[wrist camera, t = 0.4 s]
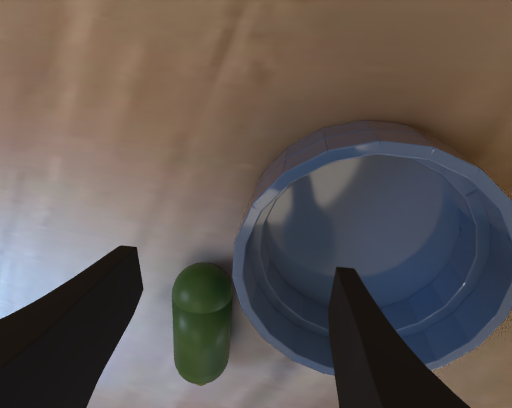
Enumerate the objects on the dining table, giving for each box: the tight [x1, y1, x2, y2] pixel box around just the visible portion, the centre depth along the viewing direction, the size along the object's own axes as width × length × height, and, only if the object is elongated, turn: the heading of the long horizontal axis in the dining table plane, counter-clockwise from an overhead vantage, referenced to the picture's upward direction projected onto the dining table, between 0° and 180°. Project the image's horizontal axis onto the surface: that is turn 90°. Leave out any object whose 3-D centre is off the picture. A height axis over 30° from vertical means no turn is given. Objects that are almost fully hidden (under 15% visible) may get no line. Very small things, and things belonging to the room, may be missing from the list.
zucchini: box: [172, 263, 232, 386], centre depth 25 cm, size 10×4×4 cm, turn 176°
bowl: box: [232, 120, 512, 376], centre depth 20 cm, size 14×14×5 cm
